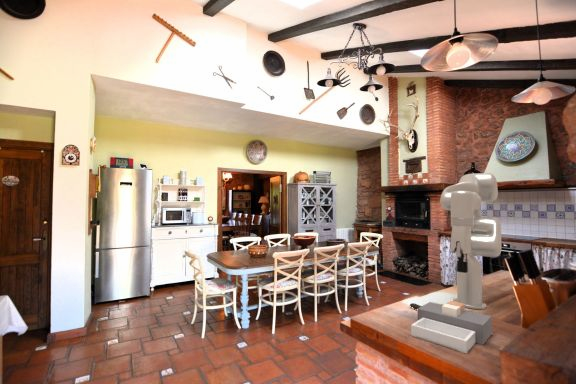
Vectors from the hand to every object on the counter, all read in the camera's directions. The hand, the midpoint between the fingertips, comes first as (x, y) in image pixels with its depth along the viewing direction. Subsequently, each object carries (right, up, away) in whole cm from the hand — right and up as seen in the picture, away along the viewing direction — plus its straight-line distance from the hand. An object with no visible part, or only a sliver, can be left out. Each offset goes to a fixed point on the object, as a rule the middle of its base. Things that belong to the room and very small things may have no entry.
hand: (462, 271), depth 111 cm
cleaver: (-3, -19, +4) cm, 20 cm away
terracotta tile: (-6, -12, -7) cm, 15 cm away
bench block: (-8, -18, -9) cm, 21 cm away
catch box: (-16, -17, -17) cm, 29 cm away
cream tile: (-10, -12, -10) cm, 18 cm away
